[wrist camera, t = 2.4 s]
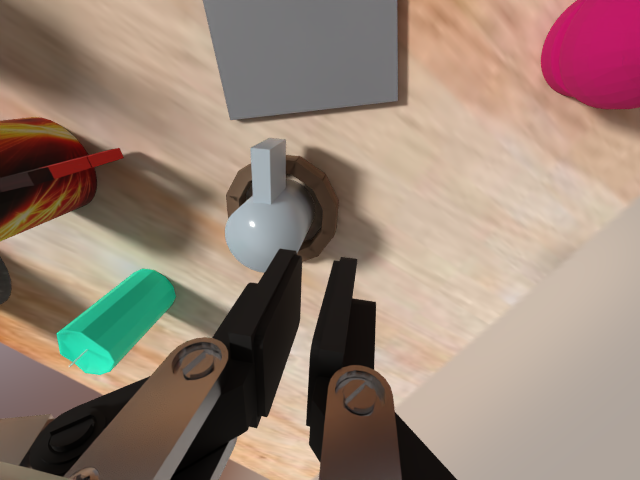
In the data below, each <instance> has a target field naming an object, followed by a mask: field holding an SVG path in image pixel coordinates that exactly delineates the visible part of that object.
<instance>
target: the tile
mask: <svg viewBox="0 0 640 480" xmlns="http://www.w3.org/2000/svg"><path fill="white" fill-rule="evenodd" d="M203 3H204V8H205V12H206V16H207V21H208V25H209V29H210V34H211V38H212V43H213V47H214V51H215V56H216V60H217V64H218V69H219V73H220V77H221V82H222V86H223V90H224V95H225V99H226V104H227V108H228V112H229V117H230V120H236V119H245V118H254V117H263V116H271V115H280V114H289V113H298V112H306V111H315V110H324V109H332V108H341V107H350V106H359V105H367V104H376V103H385V102H393V101H398V43H397V0H203Z"/></svg>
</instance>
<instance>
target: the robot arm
mask: <svg viewBox="0 0 640 480" xmlns="http://www.w3.org/2000/svg"><path fill="white" fill-rule="evenodd" d="M356 265H357V259H352V258H345V257H341V259H340V261H335V260H334V262H333V266H332V269H331V273H330V277H329V281H328V284H327V288H326V292H325V295H324V299H323V303H322V306H321V310H320V314H319V318H318V321H317V325H316V329H315V332H314V336H313V340H312V345H311V352H310V366H309V384H308V401H307V419H306V426H310V438H309V445H310V447H311V449H312V450H313V452H314V453H315V455H316V457H317V458H318V460H319V461H320V473H319V480H457V479H456V478H455V477H454V476H453V475H452V474H451V472H450V471H449V470H448V469H447V468H446V467H445V466H444V465H443V464H442V463H441V462H440V461H439V460H438V459H437V457H436V456H435V455H434V454H433V453H432V452H431V451H430V450H429V449H428V447H427V446H426V445H425V444H424V443H423V442H422V441H421V440H420V439H419V438H418V437H417V435H416V434H415V433H414V432H413V431H412V430H411V429H410V428H409V427H408V426H407V425H406V424H405V422H404V421H402V419H401V418H400V417H399V416H398V415H397V414H396V413H395V410H394V401H393V394H392V391H391V387H390V385H389V384H388V382H387V381H386V379H385V378H384V377H383V376H382V375H380V374H379V373H378V372H377V371H375V370H374V353H375V322H376V302H372V301H365V300H359V299H353V298H352V296H353V288H354V281H355V273H356ZM301 276H302V256H300V255H297V252H296V251H295V250H287V249H279V250H278V252H277V253H276V255H275V257H274V258H273V260H272V262H271V263H270V265H269V266H268V268H267V270H266V271H265V273H264V275H263V276H262V278H261V280H260V281H259V283H258V284H257V283H249V284H248V285H247V286H246V287H245V289H244V290H243V292H242V293H241V295H240V296H239V298H238V299H237V301H236V303H235V304H234V306H233V307H232V309H231V310H230V312H229V313H228V315H227V316H226V318H225V319H224V321H223V322H222V324H221V325H220V327H219V328H218V330H217V331H216V333H215V334H214V336H213V337H212V338H207V337H204V338H196V339H193V340H190V341H187V342H185V343H183V344H181V345H180V346H178V347H177V348H176V349H175V350H173V351H172V352H171V353H170V354H169V356H168V357H167V358H166V359H165V360H164V361H163V362H162V364H161V365H160V366H159V367H158V368H157V369H156V371H155V372H154V373H153V374H152V375H151V376H149V377H147V378H145V379H142V380H140V381H137V382H135V383H132V384H130V385H128V386H125V387H123V388H120V389H118V390H116V391H113V392H111V393H108V394H106V395H103V396H101V397H99V398H96V399H94V400H91V401H89V402H87V403H84V404H82V405H79V406H77V407H75V408H73V409H71V410H69V411H67V412H65V413H63V414H61V415H60V416H58V417H57V418H55V419H54V418H53V417H52V415H51V414H47V415H36V416H27V417H15V418H5V419H0V480H219V478H220V476H221V474H222V472H223V470H224V468H225V465H226V463H227V461H228V459H229V457H230V455H231V453H232V451H233V449H234V446H235V444H236V440H237V436H239V435H241V434H243V433H244V432H246V431H247V430H248V427H254V428H257V427H258V424H259V421H260V419H261V416H264V417H267V416H268V414H269V412H270V409H271V406H272V403H273V400H274V397H275V394H276V391H277V388H278V385H279V383H280V380H281V377H282V374H283V371H284V368H285V365H286V362H287V359H288V356H289V353H290V350H291V347H292V344H293V341H294V339H295V336H296V333H297V330H298V327H299V322H300V307H301Z"/></svg>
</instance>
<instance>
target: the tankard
mask: <svg viewBox="0 0 640 480" xmlns="http://www.w3.org/2000/svg"><path fill="white" fill-rule="evenodd" d="M10 293H11V279H10V276H9V273H8V270H7V268H6V266H5V264H4V262H3V260H2V259H1V257H0V304H2V303H4V302H5V301H7V299H8V298H9V296H10Z"/></svg>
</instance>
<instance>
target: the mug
mask: <svg viewBox="0 0 640 480" xmlns="http://www.w3.org/2000/svg"><path fill="white" fill-rule="evenodd" d="M122 158H124V157H123V155H122V153H121V150H120V148H116V149H111V150H107V151H103V152H99V153H95V154H91V155H88V153H87V152H86V150H85V149H84V147H83V146H82V145H81V144H80V142H79V141H78V140H77V139H76V138H75V137H74V136H73V135H72V134H71V133H70V132H69V131H68V130H66V129H65V128H63V127H62V126H60V125H59V124H57V123H55V122H53V121H51V120H48V119H44V118H38V117H31V118H22V119H13V120H4V121H0V241H2V240H5V239H7V238H9V237H12V236H14V235H16V234H19V233H21V232H23V231H26V230H28V229H31V228H33V227H35V226H38V225H40V224H42V223H45V222H47V221H49V220H52V219H54V218H56V217H59V216H61V215H63V214H66V213H68V212H70V211H73V210H75V209H77V208H80V207H82V206H85V205H87V204H88V203H89V202H90V201H91V200H92V199H93V197H94V196H95V192H96V189H97V178H96V172H95V169H94V167H96V166H99V165H103V164H106V163H109V162H112V161H116V160H119V159H122Z"/></svg>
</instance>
